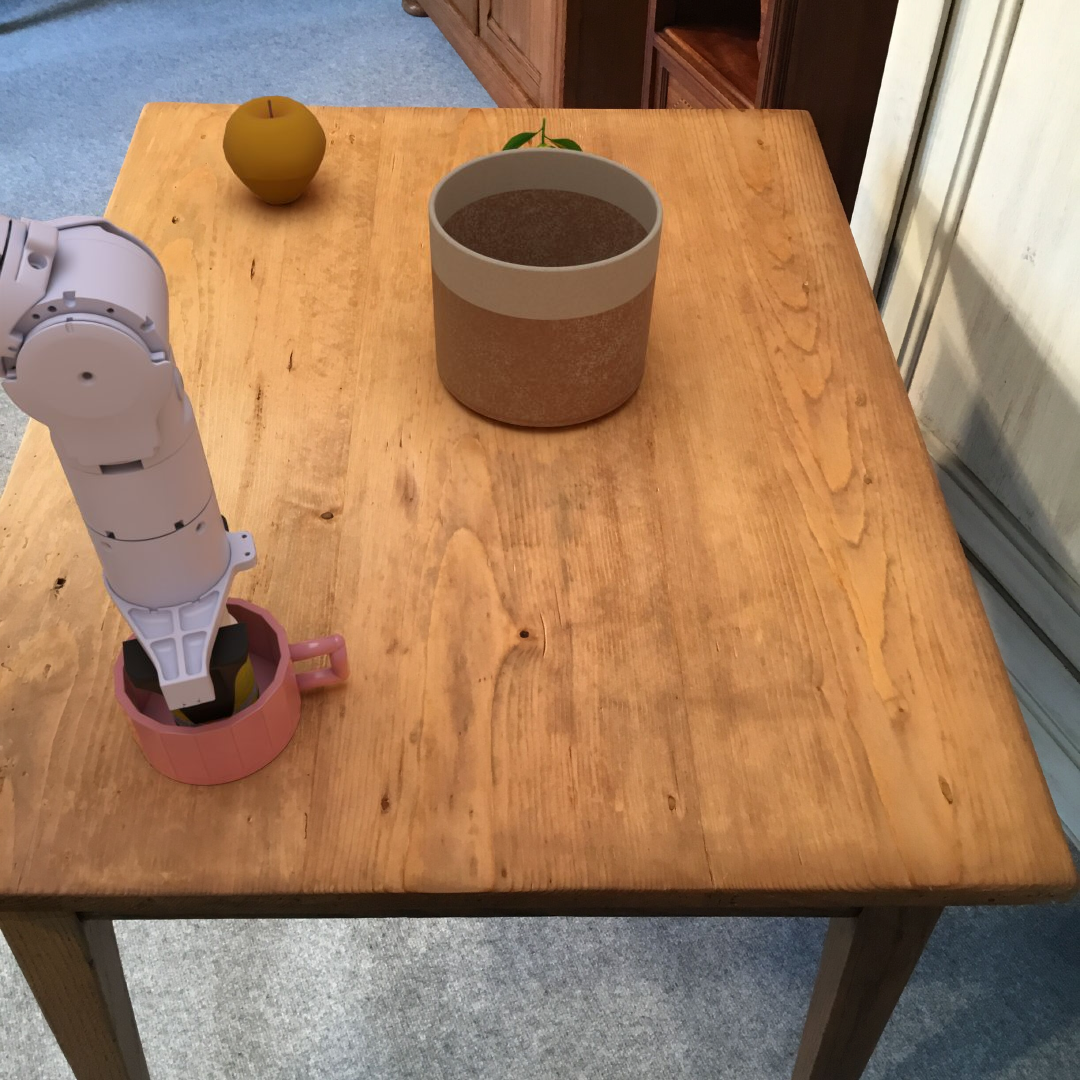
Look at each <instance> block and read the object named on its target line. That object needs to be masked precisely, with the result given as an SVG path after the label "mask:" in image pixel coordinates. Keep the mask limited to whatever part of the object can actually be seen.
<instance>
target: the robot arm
mask: <svg viewBox="0 0 1080 1080" xmlns="http://www.w3.org/2000/svg"><path fill="white" fill-rule="evenodd" d="M0 378H2V380H1V383H0V385H1V387H2V389H3V391H4V392H5V394H6V395H7V397H8V399H10V400H11V402H12V403H13V404H14V405H15V407H17V408H18V409H19V410H21V411H22V413H24V414H26V415H27V417H28V416H29V418H31V419H33V420H35V421H37V422H38V423H41V424H43V426H46V427H47V428H48V431H49V437H50V441H51V443H52V446H53V449H54V451H55V453H56V455H57V458H58V460H59V463H60V465H61V468H62V471H63V473H64V475H65V478H66V480H67V482H68V485H69V488H70V490H71V492H72V495H73V497H74V500H75V502H76V505H77V507H78V510H79V512H80V516H81V518H82V520H83V523H84V525H85V528H86V530H87V532H88V533H87V534H88V537H89V538H90V540H91V543H92V545H93V547H94V550H95V554H96V556H97V558H98V561H99V563H100V565H101V568H102V571H101V573H102V574H101V576H102V581H103V585H104V587H105V590H106V592H107V595H108V596H109V599H110V600H111V601H112V603H113V605H114V606H115V608H116V609H117V610H118V612H119V614H120V615H121V617H122V619H123V620H124V621H125V623H126V624H127V626H128V627H129V629H130V630H131V632H132V634H133V633H134V635H135V636H136V638H137V639H132V640H127V639H126V640H127V641H126V640H124V641H121V643H122V647H123V658H124V668H125V671H126V673H127V676H128V678H129V679H130V681H131V682H132V684H133V685H134V686H135V687H136V688H139V689H144V690H149V691H152V692H155V693H158V694H160V695H162V696H164V697H165V700H166V702H167V705H168V707H169V710H175V709H179V710H180V711H181V712H182V713H183V714H184V715H185V716H186V717H187V718H188V719H189V720H190V721H191V722H193V723H194V724H201V723H205V722H209V721H213V720H217V719H221V718H226V717H230V716H231V715H232V714H233V711H234V706H235V681H236V677H237V674H238V672H239V670H240V669H241V667H242V666H243V665H244V664H245V663H246V662H247V659H248V653H249V642H248V636H247V630H246V625H245V622H241V623H236V624H232V625H227V626H223V627H219V626H220V623H221V619H222V616H223V613H224V610H225V606H226V603H227V600H228V597H229V596H230V594H231V589H232V586H233V583H234V580H235V577H236V576H237V575H238V574H239V573H240V572H243V571H248V570H250V569H253V568H255V567H256V566H257V565H258V560H259V558H258V553H257V548H256V543H255V540H254V535H253V534H252V532H250V531H247V530H240V531H235V532H233V531H232V532H231V531H230V528H229V524H228V520H227V518H226V517H225V515H223V514H222V513H221V510H220V509H221V508H220V506H219V501H218V499H217V495H216V491H215V487H214V483H213V479H212V475H211V471H210V468H209V464H208V459H207V456H206V453H205V452H206V451H205V449H204V445H203V442H202V438H201V435H200V431H199V426H198V423H197V419H196V416H195V411H194V409H193V404H192V401H191V399H190V397H189V395H188V393H187V392H186V391H185V383H184V378H183V375H182V373H181V371H180V369H179V368H178V366H177V362H176V359H175V354H174V352H173V347H172V344H171V343H170V291H169V286H168V282H167V278H166V273H165V271H164V268H163V265H162V264H161V261H160V260H159V258H158V257H157V255H156V254H155V252H154V251H153V250H152V249H151V248H150V247H149V246H148V245H147V244H146V242H144V241H143V240H141V239H140V238H139V237H137V236H136V235H134V234H133V233H131V232H130V231H127V230H126V229H123V228H121V227H118V226H117V225H116V224H114V222H112V221H111V220H109V219H107V218H105V217H102V216H97V215H84V214H80V215H79V214H76V215H67V216H66V215H65V216H62V217H57V218H53V219H49V220H36V219H32V218H28V217H26V216H23V215H21V217H20V218H19V219H16V218H13V217H10V216H8V215H5V214H2V213H0Z"/></svg>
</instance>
